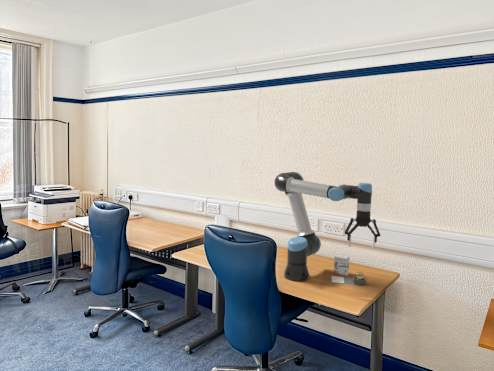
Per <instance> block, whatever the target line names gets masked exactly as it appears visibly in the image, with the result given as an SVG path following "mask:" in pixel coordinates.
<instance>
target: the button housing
mask: <svg viewBox="0 0 494 371" xmlns="http://www.w3.org/2000/svg"><path fill="white" fill-rule="evenodd" d="M353 278H354V285H355V286H364V285H365V286H366V278H365V276H363V280H360V279H356V275H354V276H353Z"/></svg>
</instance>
